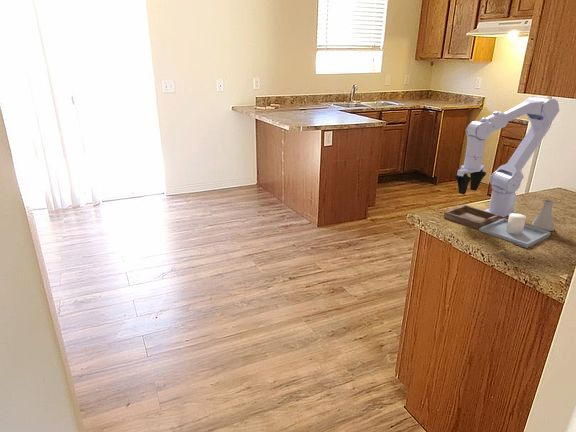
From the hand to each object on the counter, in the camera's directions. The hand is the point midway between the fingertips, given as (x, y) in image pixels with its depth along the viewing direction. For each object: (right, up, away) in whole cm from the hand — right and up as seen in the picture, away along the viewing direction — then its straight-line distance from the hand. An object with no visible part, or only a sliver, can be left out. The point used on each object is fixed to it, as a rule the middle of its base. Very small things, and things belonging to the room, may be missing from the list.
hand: (467, 191), depth 153 cm
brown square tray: (+1, -10, -1) cm, 10 cm away
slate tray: (+10, -15, -13) cm, 22 cm away
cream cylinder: (+10, -15, -13) cm, 22 cm away
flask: (+23, -13, -7) cm, 28 cm away
